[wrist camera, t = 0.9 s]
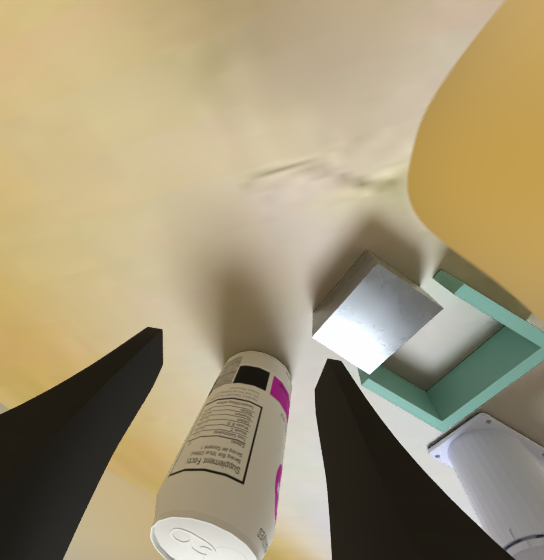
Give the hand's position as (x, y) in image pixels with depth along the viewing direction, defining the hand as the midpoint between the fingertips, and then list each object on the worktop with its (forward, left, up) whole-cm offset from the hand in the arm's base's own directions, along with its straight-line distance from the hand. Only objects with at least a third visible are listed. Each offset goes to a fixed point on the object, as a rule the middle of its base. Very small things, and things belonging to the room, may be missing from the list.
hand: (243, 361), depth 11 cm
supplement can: (-4, +13, -14) cm, 20 cm away
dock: (-16, -1, -14) cm, 21 cm away
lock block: (-8, -1, -14) cm, 16 cm away
